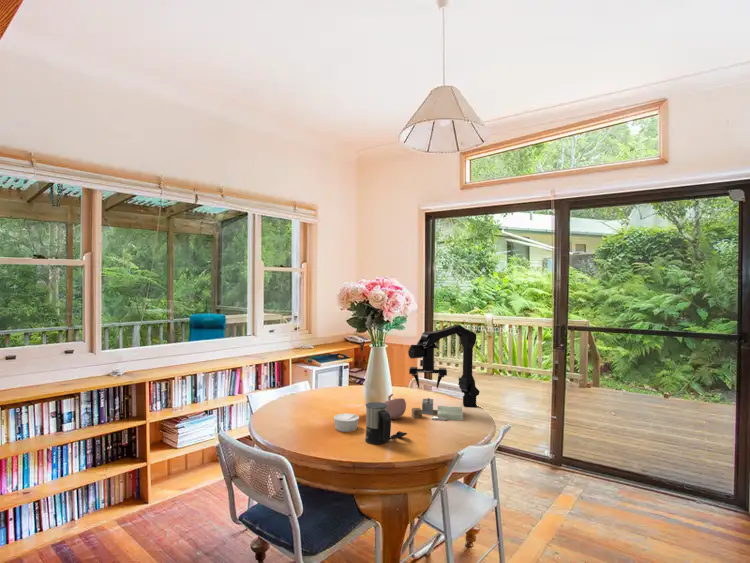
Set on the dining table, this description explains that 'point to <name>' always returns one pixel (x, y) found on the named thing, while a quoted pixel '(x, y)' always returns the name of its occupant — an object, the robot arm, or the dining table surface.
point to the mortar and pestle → (395, 407)
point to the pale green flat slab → (450, 412)
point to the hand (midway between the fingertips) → (427, 388)
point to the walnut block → (416, 413)
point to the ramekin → (346, 422)
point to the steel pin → (439, 418)
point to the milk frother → (379, 424)
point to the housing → (427, 406)
